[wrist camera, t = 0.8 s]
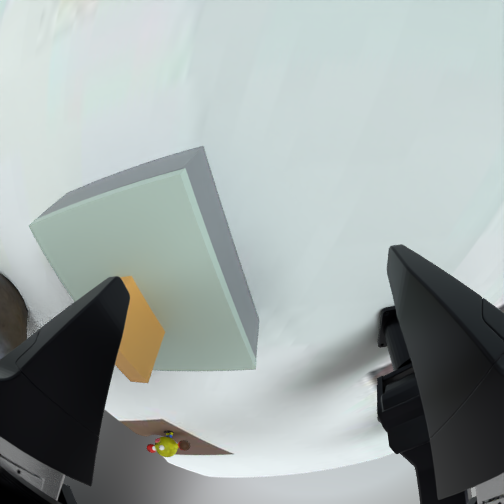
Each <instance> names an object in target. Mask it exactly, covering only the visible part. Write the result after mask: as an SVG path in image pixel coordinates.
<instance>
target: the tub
mask: <svg viewBox="0 0 504 504" xmlns="http://www.w3.org/2000/svg"><path fill="white" fill-rule="evenodd" d="M184 168H186V171H187V174H188V177H189V180H190V183H191V186H192V189H193V192H194V195H195V198H196V201H197V204H198V206H199V209H200V212H201V215H202V218H203V221H204V224H205V226H206V229H207V232H208V235H209V238H210V240H211V243H212V246H213V249H214V251H215V254H216V257H217V260H218V262H219V265H220V268H221V270H222V273H223V276H224V279H225V281H226V284H227V287H228V289H229V292H230V294H231V297H232V300H233V302H234V305H235V308H236V310H237V313H238V315H239V318H240V320H241V323H242V326H243V328H244V331H245V333H246V336H247V338H248V341H249V343H250V346H251V348H252V351H253V353H254V356H255V358H256V354H257V342H258V329H259V318H258V315H257V312H256V309H255V306H254V303H253V300H252V297H251V294H250V291H249V288H248V285H247V282H246V279H245V276H244V273H243V270H242V267H241V264H240V261H239V257H238V254H237V251H236V248H235V245H234V242H233V239H232V236H231V233H230V230H229V227H228V223H227V220H226V217H225V214H224V211H223V208H222V205H221V201H220V198H219V195H218V192H217V189H216V186H215V182H214V179H213V176H212V173H211V170H210V166H209V163H208V160H207V157H206V154H205V150H204V147H203V146H201V147H197V148H194V149H190V150H187V151H183V152H180V153H176V154H173V155H170V156H166V157H163V158H160V159H157V160H154V161H151V162H148V163H145V164H142V165H139V166H136V167H133V168H130V169H127V170H124V171H122V172H119V173H116V174H113V175H111V176H108V177H105V178H103V179H100V180H98V181H95V182H93V183H90V184H88V185H85V186H83V187H80V188H78V189H76V190H73V191H71V192H69V193H67V194H66V195H64V196H63V197H62V198H60V199H59V200H58V201H57V202H56V203H54V204H53V205H52V206H51V207H50V208H48V209H47V210H46V211H45V212H44V213H42V214H41V215H40V216H39V217H38V218H40V217H42V216H44V215H47V214H49V213H52V212H54V211H57V210H59V209H62V208H64V207H67V206H69V205H72V204H74V203H77V202H80V201H82V200H85V199H88V198H91V197H93V196H96V195H99V194H102V193H105V192H108V191H111V190H114V189H117V188H120V187H123V186H126V185H129V184H132V183H135V182H138V181H142V180H145V179H148V178H152V177H155V176H159V175H162V174H166V173H169V172H173V171H176V170H180V169H184Z"/></svg>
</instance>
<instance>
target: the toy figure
mask: <svg viewBox="0 0 504 504" xmlns="http://www.w3.org/2000/svg"><path fill="white" fill-rule="evenodd" d="M169 432H170V436H169ZM164 433H166V437H160V438H158V439H156V440H155V442H156V443H155V445H153V444H149V445H148V446H147V450H148V451H149V452H151V453H153V452H156V451H157V452H158V453H159V454H160V455H162V456H164V457H171V456H173V455H174V454H175V453H176V452H177V448H180V449H181V450H188V449H189V448H190V443H189V442H188V441H186V440H182V441H180V442H179V443H178V444H176V442H175V441H174V440H173V439H172V435H173V432H171V431H167V432H166V431H165V432H164ZM168 436H169V437H168Z"/></svg>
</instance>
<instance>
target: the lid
mask: <svg viewBox="0 0 504 504" xmlns="http://www.w3.org/2000/svg"><path fill="white" fill-rule="evenodd" d="M29 227H30V229H31V231H32V233H33V235H34V237H35V239H36V241H37V242H38V244H39V246H40V248H41V250H42V251H43V253H44V255H45V256H46V258H47V260H48V262H49V263H50V265H51V267H52V268H53V270H54V271H55V273H56V275H57V276H58V278H59V279H60V281H61V282H62V284H63V285H64V287H65V288H66V290H67V291H68V293H69V294H70V296H71V297H72V299H73V300H74V302H75V301H77V300H78V299H79V298H81V297H82V296H83V295H85V294H86V293H88V292H89V291H90V290H92V289H93V288H94V287H96V286H97V285H99V284H100V283H101V282H103V281H104V280H106V279H107V278H108V277H113V276H119V277H120V278H121V279H122V281H123V283H124V284H125V286H126V288H127V290H128V292H129V294H130V302H129V307H128V312H127V317H126V322H125V327H124V332H123V336H122V340H121V344H120V347H119V351H118V354H117V358H116V362H115V365H116V366H117V367H118V369H119V370H120V371H121V372H122V373H123V374H124V375H125V376H126V377H127V378H128V379H129V380H130V381H131V382H142V383H148V382H149V379H150V376H151V373H152V370H160V371H232V370H253V369H256V358H255V356H254V353H253V351H252V348H251V346H250V343H249V341H248V338H247V336H246V333H245V331H244V328H243V326H242V323H241V320H240V318H239V315H238V313H237V310H236V308H235V305H234V302H233V300H232V297H231V294H230V292H229V289H228V287H227V284H226V281H225V279H224V276H223V273H222V270H221V268H220V265H219V262H218V260H217V257H216V254H215V251H214V249H213V246H212V243H211V240H210V238H209V235H208V232H207V229H206V226H205V224H204V221H203V218H202V215H201V212H200V209H199V206H198V204H197V201H196V198H195V195H194V192H193V189H192V186H191V183H190V180H189V177H188V174H187V171H186V168H184V169H180V170H176V171H173V172H169V173H166V174H162V175H159V176H155V177H152V178H148V179H145V180H142V181H138V182H135V183H132V184H129V185H126V186H123V187H120V188H117V189H114V190H111V191H108V192H105V193H102V194H99V195H96V196H93V197H91V198H88V199H85V200H82V201H80V202H77V203H74V204H72V205H69V206H67V207H64V208H62V209H59V210H57V211H54V212H52V213H49V214H47V215H44V216H42V217H40V218H37V219H35V220H34V221H33V222H32V223H31V224H30V225H29Z"/></svg>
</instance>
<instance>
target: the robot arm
mask: <svg viewBox="0 0 504 504" xmlns="http://www.w3.org/2000/svg"><path fill="white" fill-rule="evenodd" d="M387 275H388V279H389V283H390V287H391V291H392V295H393V299H394V304H395V306H393V307H388V308H385V309H383V310H382V313H381V321H380V329H379V337H378V347H386V346H387V347H388V351H389V354H390V358H391V362H392V366H393V370H394V371H393V372H391V373H389V374H387V375H385V376H381V377H379V378H377V381H378V385H377V414H378V417H377V418H378V421H379V422H381V424H382V426H383V428H384V429H385V430H386V432H388V440H389V446H390V448H391V449H392V450H393V451H394V452H395V453H396V454H399V453H400V454H401V455H402V456H403V457H405V458H406V459H407V460H408V461H409V462H410V463H411V464H412V465H414V467H415V470H416V476H417V482H418V489H419V496H420V504H504V313H503V312H502V311H501V310H499V309H498V308H497V307H495V306H494V305H492V304H491V303H490V302H488V301H487V300H486V299H484V298H483V299H482V297H481V296H480V295H479V294H477V293H476V292H474V291H473V290H471V289H470V288H469V287H467V286H466V285H464V284H463V283H461V282H460V281H458V280H457V279H456V278H454V277H453V276H451V275H450V274H448V273H447V272H445V271H444V270H442V269H441V268H439V267H437V266H436V265H434V264H433V263H431V262H430V261H428V260H427V259H425V258H423V257H422V256H420V255H419V254H417V253H415V252H414V251H412V250H411V249H409V248H407V247H406V246H404V245H393V246H390V248H389V252H388V263H387ZM129 302H130V294H129V292H128V290H127V288H126V286H125V284H124V283H123V281H122V279H121V278H120V277H119V276H113V277H108V278H107V279H106V280H104V281H103V282H101V283H100V284H99V285H97V286H96V287H94V288H93V289H92V290H90V291H89V292H88V293H86V294H85V295H83V296H82V297H81V298H79V299H78V300H77V301H75V302H74V303H73V304H71V305H70V306H69V307H67V308H66V309H65V310H64V311H62V312H61V313H60V314H58V315H57V316H56V317H54V318H53V319H52V320H51V321H49V322H48V323H47V324H45V325H44V326H43V327H42V328H41V329H39V330H38V331H37V332H35V333H34V334H33V335H32V336H30V337H29V338H28V339H27V340H25V341H24V342H23V343H21V344H20V345H19V346H17V347H16V348H15V349H14V350H12V351H11V352H10V353H8V354H7V355H6V356H4V357H3V358H2V359H0V504H77V503H76V501H75V498H74V496H73V494H72V491H71V489H70V486H68V485H66V484H64V483H63V481H64V477H65V475H66V476H69V477H70V478H73V479H75V480H77V481H79V482H81V483H84V484H86V485H89V486H92V481H93V473H94V466H95V459H96V453H97V445H98V440H99V434H100V428H101V423H102V418H103V413H104V408H105V404H106V399H107V395H108V390H109V386H110V382H111V378H112V374H113V370H114V366H115V362H116V358H117V354H118V351H119V347H120V344H121V340H122V336H123V332H124V327H125V322H126V317H127V312H128V307H129ZM386 312H387V313H386ZM475 486H476V494H477V496H475V497H473V498H472V495H471V488H472V487H475Z"/></svg>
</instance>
